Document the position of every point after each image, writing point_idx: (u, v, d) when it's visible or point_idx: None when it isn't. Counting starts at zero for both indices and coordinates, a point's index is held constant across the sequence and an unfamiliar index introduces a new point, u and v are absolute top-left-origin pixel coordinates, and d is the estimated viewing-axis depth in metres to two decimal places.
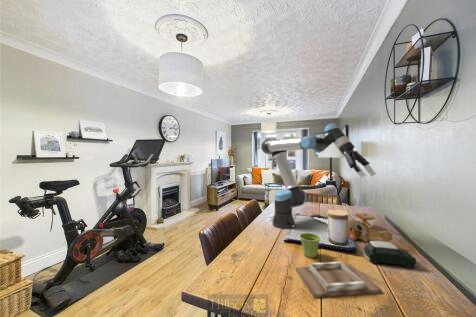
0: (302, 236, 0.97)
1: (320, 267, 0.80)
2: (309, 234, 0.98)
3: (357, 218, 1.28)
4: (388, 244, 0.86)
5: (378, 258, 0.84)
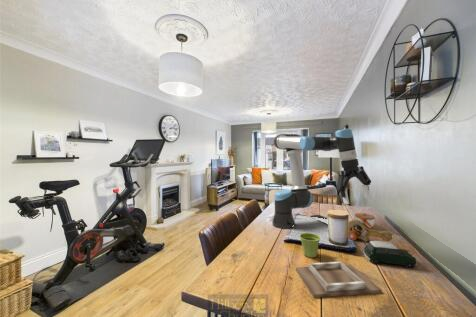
0: (302, 236, 0.97)
1: (320, 267, 0.80)
2: (309, 234, 0.98)
3: (357, 218, 1.28)
4: (388, 244, 0.86)
5: (378, 258, 0.84)
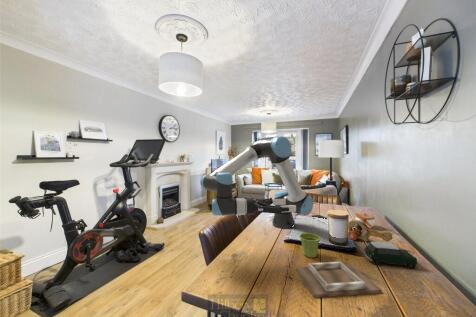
0: (302, 236, 0.97)
1: (320, 267, 0.80)
2: (309, 234, 0.98)
3: (357, 218, 1.28)
4: (389, 244, 0.86)
5: (380, 259, 0.83)
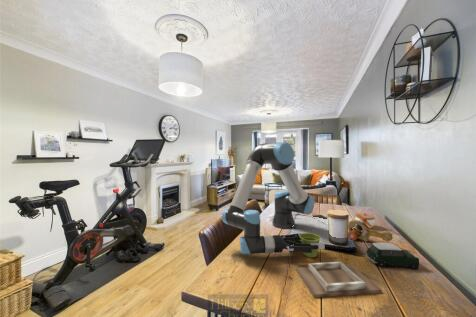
0: (302, 236, 0.97)
1: (320, 267, 0.80)
2: (309, 234, 0.98)
3: (357, 218, 1.28)
4: (391, 245, 0.85)
5: (384, 261, 0.82)
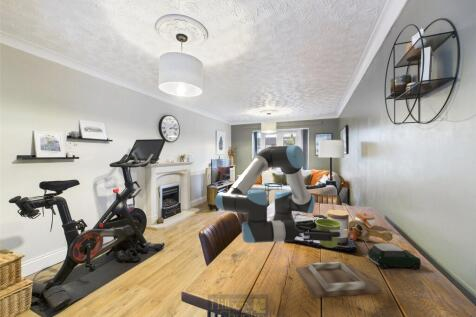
0: (318, 222, 0.79)
1: (320, 267, 0.80)
2: (326, 220, 0.80)
3: (357, 218, 1.28)
4: (393, 246, 0.84)
5: (387, 262, 0.81)
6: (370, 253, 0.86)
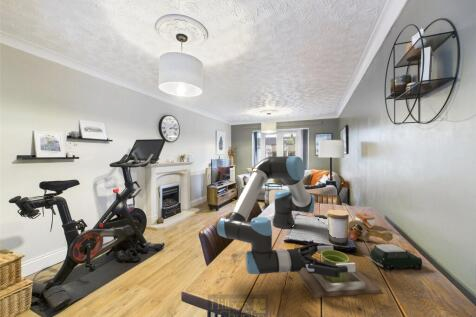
0: (324, 254, 0.76)
1: None
2: (333, 251, 0.77)
3: (357, 218, 1.28)
4: (395, 247, 0.84)
5: (390, 264, 0.80)
6: (372, 255, 0.85)
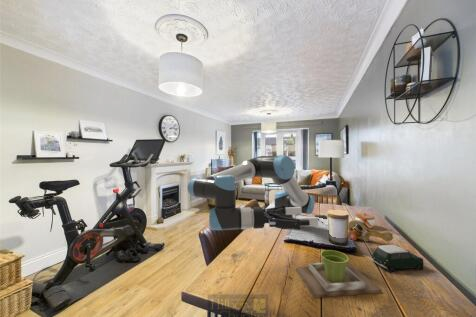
0: (324, 254, 0.77)
1: (320, 267, 0.80)
2: (332, 252, 0.77)
3: (357, 218, 1.28)
4: (397, 247, 0.83)
5: (394, 265, 0.79)
6: (375, 256, 0.84)
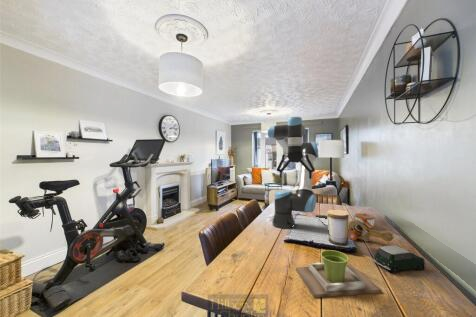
0: (324, 254, 0.77)
1: (320, 267, 0.80)
2: (332, 252, 0.77)
3: (357, 218, 1.28)
4: (399, 248, 0.82)
5: (397, 266, 0.78)
6: (378, 257, 0.83)
